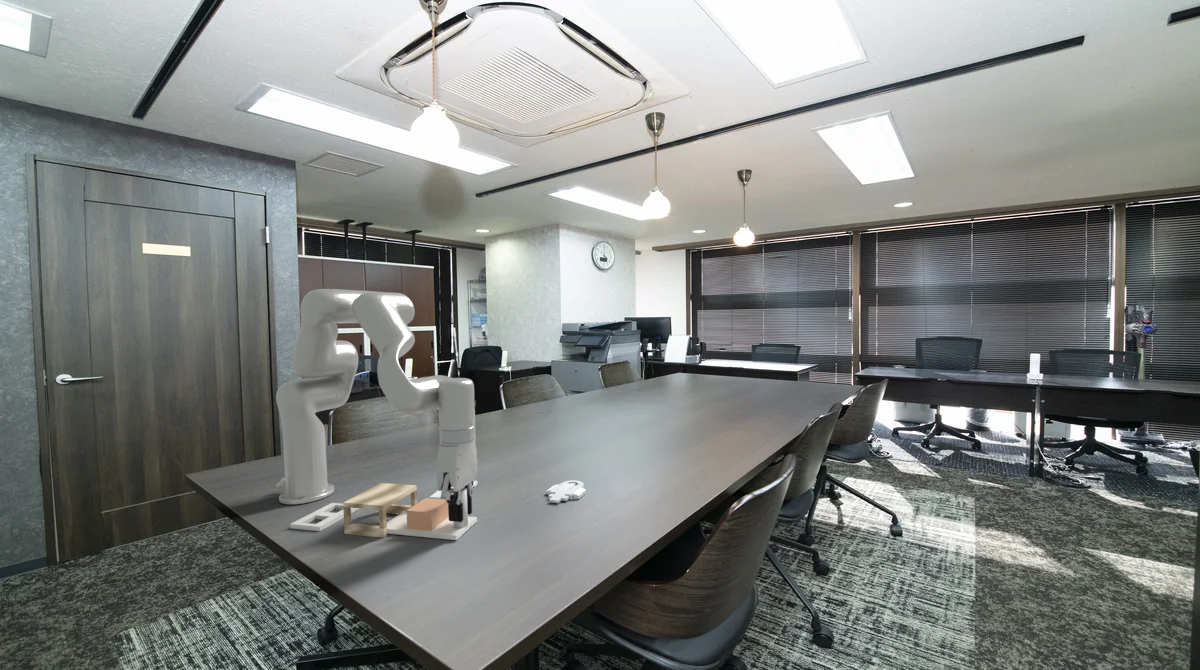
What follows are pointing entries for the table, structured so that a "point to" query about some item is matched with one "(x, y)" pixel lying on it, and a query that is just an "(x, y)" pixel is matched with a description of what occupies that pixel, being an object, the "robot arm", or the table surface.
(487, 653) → the table surface
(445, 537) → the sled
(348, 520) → the tunnel
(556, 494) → the toy rocket
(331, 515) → the frame
